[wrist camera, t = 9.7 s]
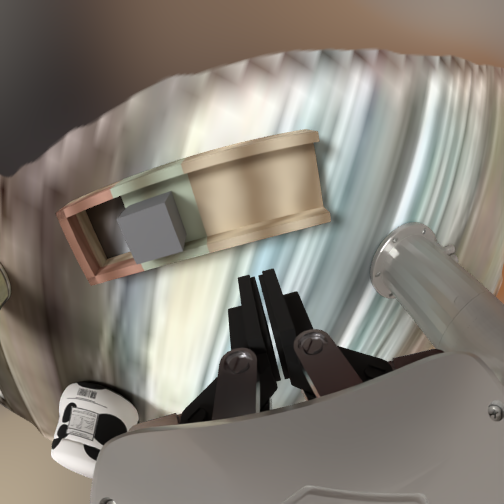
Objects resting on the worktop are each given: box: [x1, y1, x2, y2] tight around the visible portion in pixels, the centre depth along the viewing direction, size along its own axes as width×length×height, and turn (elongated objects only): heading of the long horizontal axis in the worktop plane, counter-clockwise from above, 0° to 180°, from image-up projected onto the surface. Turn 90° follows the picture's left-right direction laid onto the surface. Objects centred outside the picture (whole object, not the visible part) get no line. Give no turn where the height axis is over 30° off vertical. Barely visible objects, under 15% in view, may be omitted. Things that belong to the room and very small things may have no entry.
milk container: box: [51, 382, 139, 479], centre depth 37 cm, size 17×17×18 cm
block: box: [116, 191, 187, 265], centre depth 26 cm, size 5×5×4 cm
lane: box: [56, 129, 331, 286], centre depth 27 cm, size 28×10×4 cm, turn 103°
